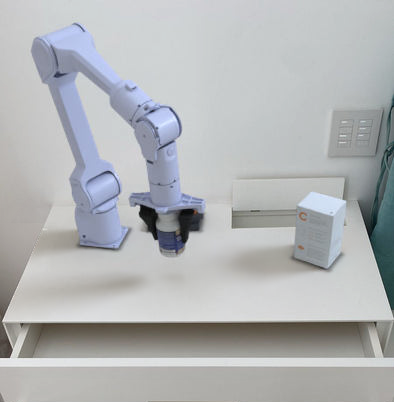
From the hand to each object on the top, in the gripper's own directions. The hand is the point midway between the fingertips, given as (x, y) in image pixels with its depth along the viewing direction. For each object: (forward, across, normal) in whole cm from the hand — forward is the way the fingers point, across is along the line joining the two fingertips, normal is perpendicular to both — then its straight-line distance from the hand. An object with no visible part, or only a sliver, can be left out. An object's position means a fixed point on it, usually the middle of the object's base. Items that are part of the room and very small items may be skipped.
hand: (171, 238), depth 114 cm
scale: (+10, -6, +20) cm, 23 cm away
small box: (+10, +28, +12) cm, 32 cm away
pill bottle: (+3, 0, 0) cm, 3 cm away
